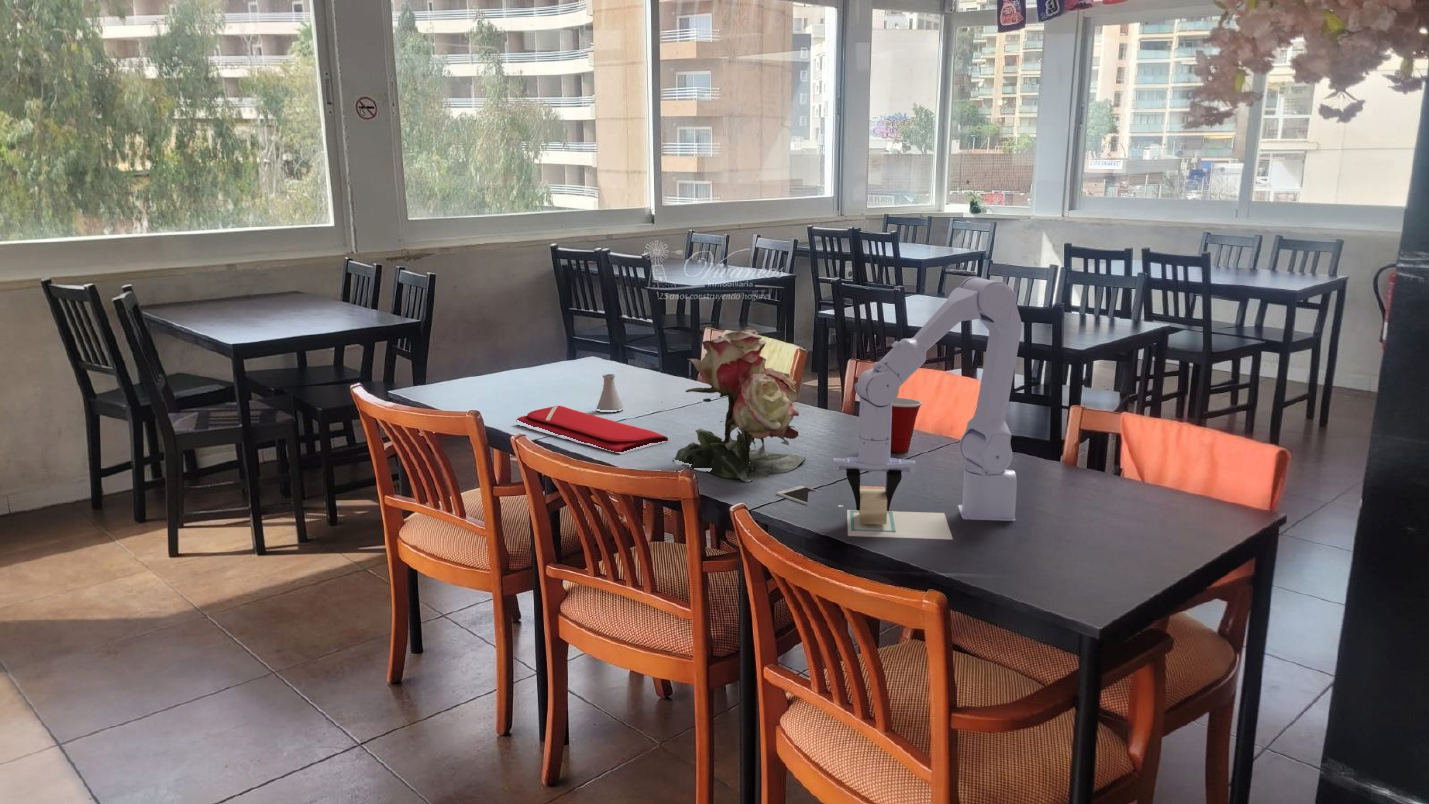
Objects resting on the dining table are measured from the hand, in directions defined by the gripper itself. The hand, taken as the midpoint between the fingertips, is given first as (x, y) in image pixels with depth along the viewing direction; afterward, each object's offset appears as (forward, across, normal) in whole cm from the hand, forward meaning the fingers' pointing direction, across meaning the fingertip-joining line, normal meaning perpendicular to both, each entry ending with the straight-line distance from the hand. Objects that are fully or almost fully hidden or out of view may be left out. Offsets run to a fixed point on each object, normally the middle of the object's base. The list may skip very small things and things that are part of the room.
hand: (872, 509), depth 182 cm
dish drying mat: (+3, +67, -60) cm, 90 cm away
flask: (+3, +68, -85) cm, 109 cm away
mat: (+3, -4, +1) cm, 5 cm away
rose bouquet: (+3, +26, -38) cm, 46 cm away
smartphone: (+3, +10, -13) cm, 17 cm away
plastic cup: (+3, -8, -52) cm, 53 cm away
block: (+1, 0, 0) cm, 1 cm away
